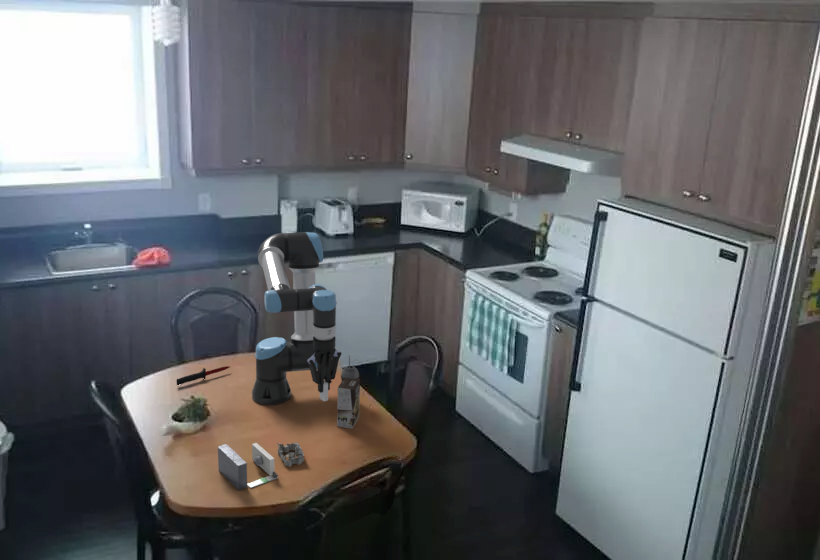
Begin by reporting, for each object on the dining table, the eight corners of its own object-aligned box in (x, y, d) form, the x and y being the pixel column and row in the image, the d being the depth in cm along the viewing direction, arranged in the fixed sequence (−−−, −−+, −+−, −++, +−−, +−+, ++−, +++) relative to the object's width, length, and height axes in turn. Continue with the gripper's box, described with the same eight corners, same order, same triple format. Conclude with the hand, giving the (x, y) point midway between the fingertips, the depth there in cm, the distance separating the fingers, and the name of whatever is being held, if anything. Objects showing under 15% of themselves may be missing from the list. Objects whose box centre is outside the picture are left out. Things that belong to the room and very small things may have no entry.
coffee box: (353, 429, 289) (354, 389, 284) (336, 426, 291) (337, 387, 285) (359, 417, 298) (360, 378, 293) (343, 415, 299) (344, 376, 294)
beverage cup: (344, 408, 304) (345, 361, 297) (337, 400, 310) (338, 354, 303) (361, 405, 307) (363, 358, 301) (354, 397, 313) (355, 351, 307)
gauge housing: (218, 470, 260) (217, 446, 257) (255, 457, 268) (254, 434, 266) (240, 492, 249) (240, 467, 246) (278, 478, 257) (277, 454, 254)
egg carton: (276, 452, 273) (276, 442, 271) (297, 448, 275) (297, 438, 274) (283, 468, 263) (283, 458, 262) (305, 464, 266) (305, 454, 265)
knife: (178, 388, 314) (177, 376, 312) (176, 386, 315) (175, 375, 313) (231, 372, 329) (231, 361, 328) (229, 371, 330) (229, 360, 329)
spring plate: (248, 461, 266) (247, 445, 264) (256, 458, 268) (256, 442, 266) (269, 480, 255) (269, 464, 253) (278, 477, 257) (277, 461, 255)
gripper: (313, 344, 257) (313, 408, 265) (346, 335, 265) (345, 398, 273) (301, 336, 262) (301, 400, 270) (334, 328, 270) (333, 390, 278)
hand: (323, 399), depth 271 cm, fingers closed
